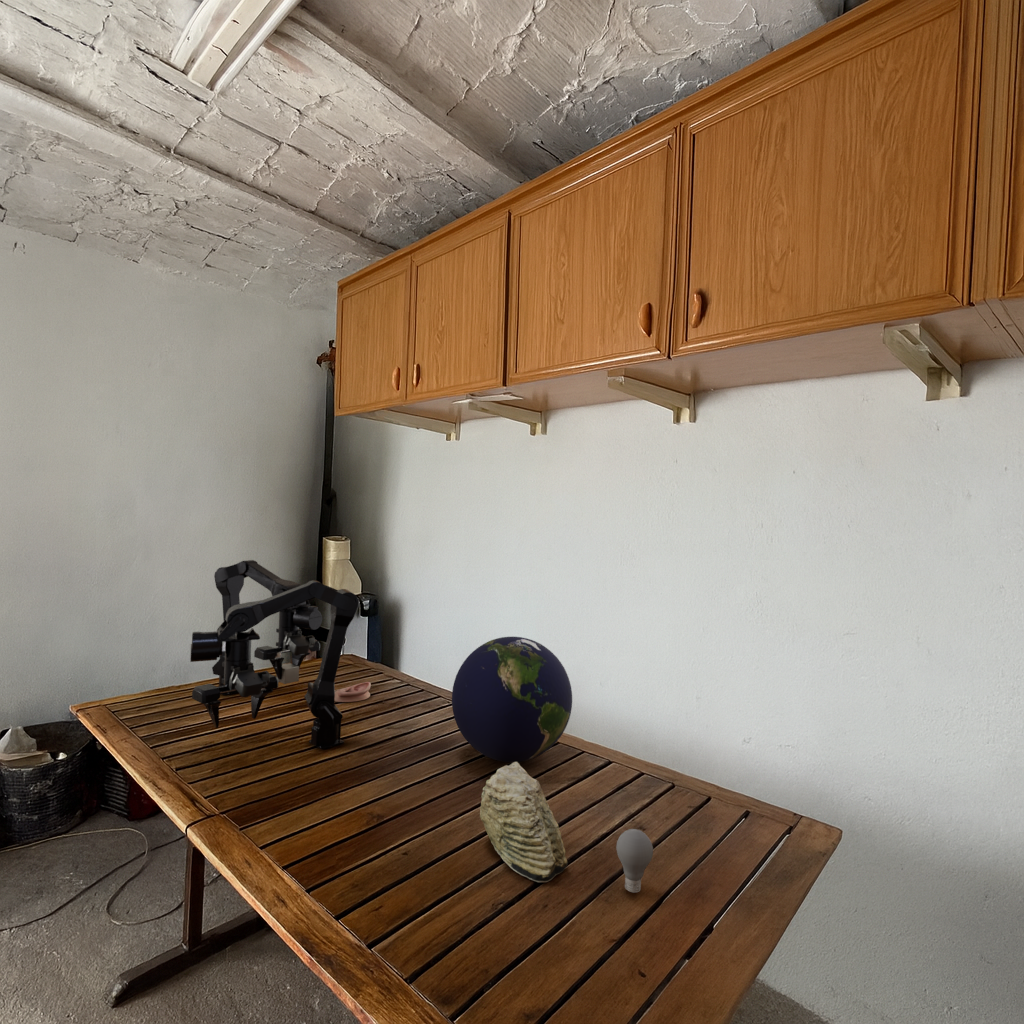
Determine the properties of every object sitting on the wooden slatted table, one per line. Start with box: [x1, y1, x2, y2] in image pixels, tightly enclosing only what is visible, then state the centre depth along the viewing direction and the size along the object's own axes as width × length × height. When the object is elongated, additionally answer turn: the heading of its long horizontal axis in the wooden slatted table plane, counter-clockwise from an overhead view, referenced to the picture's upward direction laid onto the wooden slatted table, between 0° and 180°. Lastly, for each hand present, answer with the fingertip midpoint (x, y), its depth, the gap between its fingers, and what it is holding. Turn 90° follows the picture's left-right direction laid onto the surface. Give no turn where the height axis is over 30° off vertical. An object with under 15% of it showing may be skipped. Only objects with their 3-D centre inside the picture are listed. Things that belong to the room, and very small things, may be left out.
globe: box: [451, 636, 573, 763], centre depth 158 cm, size 30×30×30 cm
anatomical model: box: [334, 681, 372, 703], centre depth 200 cm, size 13×4×12 cm
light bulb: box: [615, 828, 654, 894], centre depth 106 cm, size 6×6×10 cm
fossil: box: [479, 762, 569, 883], centre depth 114 cm, size 9×18×15 cm, turn 46°
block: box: [275, 662, 300, 685], centre depth 190 cm, size 5×5×4 cm
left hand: (287, 677), depth 190 cm, fingers closed on block, 5 cm apart
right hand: (235, 722), depth 152 cm, fingers open, 9 cm apart
